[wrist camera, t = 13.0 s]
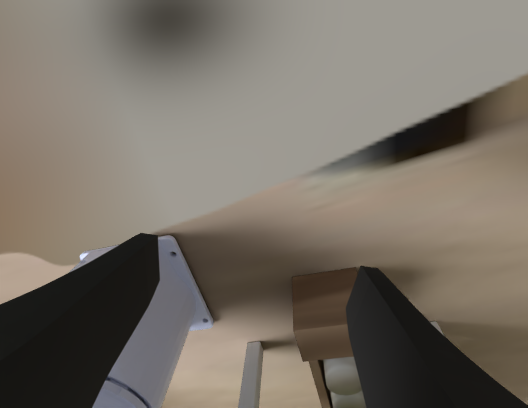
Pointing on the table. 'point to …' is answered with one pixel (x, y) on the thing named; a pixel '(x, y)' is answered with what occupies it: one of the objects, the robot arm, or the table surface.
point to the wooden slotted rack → (327, 335)
